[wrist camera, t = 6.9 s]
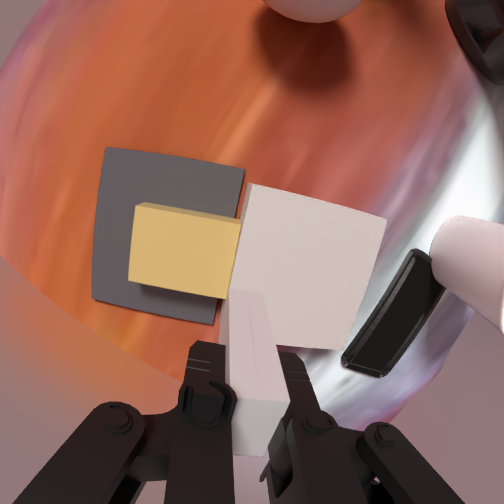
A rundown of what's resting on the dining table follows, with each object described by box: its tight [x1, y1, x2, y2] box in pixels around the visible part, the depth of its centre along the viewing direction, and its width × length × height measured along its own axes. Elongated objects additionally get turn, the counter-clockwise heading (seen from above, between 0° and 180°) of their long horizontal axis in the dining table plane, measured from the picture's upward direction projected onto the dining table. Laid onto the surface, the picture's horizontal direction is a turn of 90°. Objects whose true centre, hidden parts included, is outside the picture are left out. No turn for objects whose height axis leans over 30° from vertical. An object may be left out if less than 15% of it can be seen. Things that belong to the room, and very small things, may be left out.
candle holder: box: [430, 216, 504, 335], centre depth 21 cm, size 10×10×12 cm
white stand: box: [220, 183, 387, 350], centre depth 23 cm, size 11×12×4 cm
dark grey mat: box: [92, 147, 245, 325], centre depth 23 cm, size 12×14×1 cm
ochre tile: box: [128, 202, 241, 299], centre depth 22 cm, size 8×6×2 cm
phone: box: [341, 249, 446, 378], centre depth 28 cm, size 8×1×15 cm
